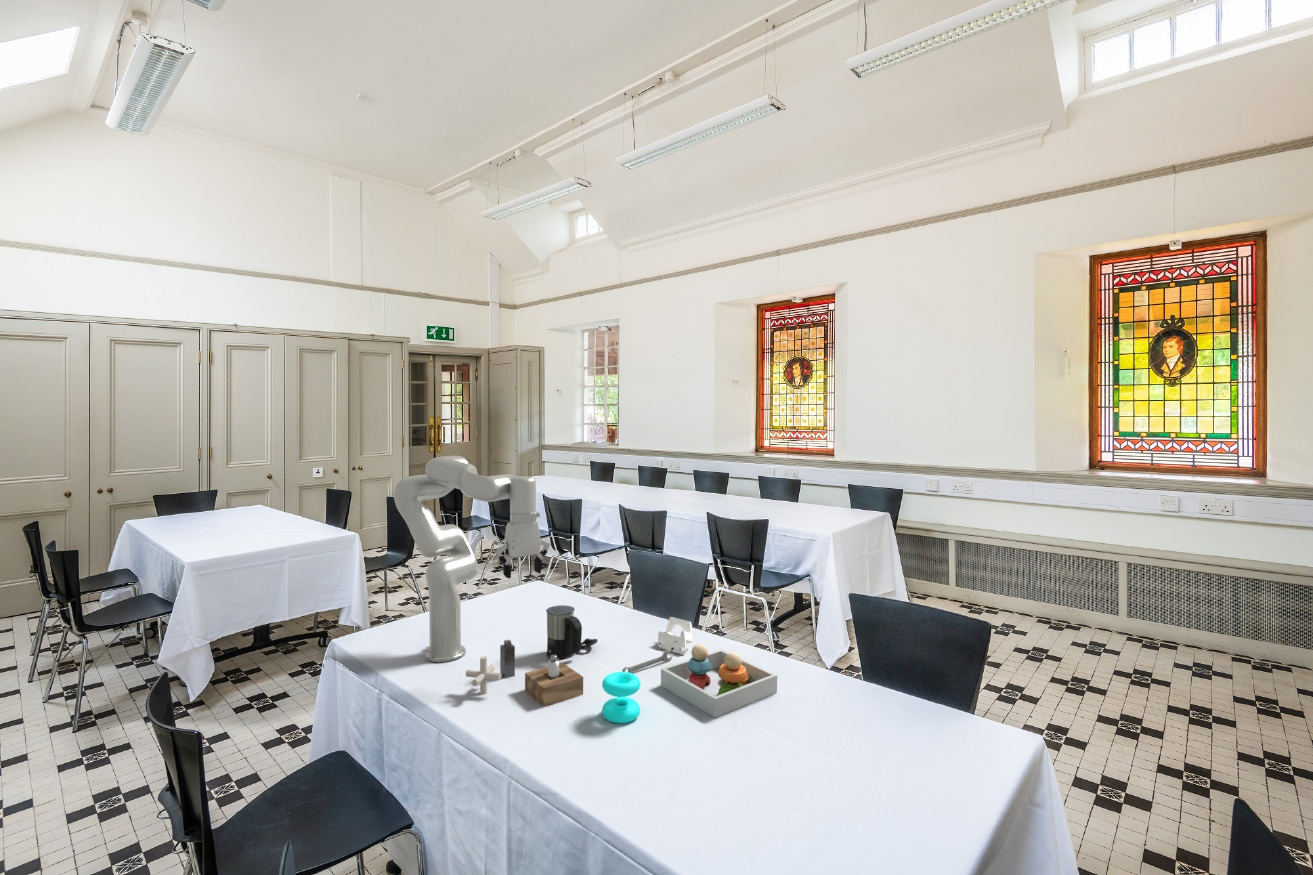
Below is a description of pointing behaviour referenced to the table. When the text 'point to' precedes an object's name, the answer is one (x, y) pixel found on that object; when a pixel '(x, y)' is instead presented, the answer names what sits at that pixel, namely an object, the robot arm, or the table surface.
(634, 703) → the donuts
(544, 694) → the socket block
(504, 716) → the table surface
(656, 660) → the combination wrench
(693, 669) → the stacking toy figures
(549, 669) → the round bit
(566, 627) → the milk frother
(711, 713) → the parts tray
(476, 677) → the pipe connector
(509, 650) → the square bit
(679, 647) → the mounting bracket
